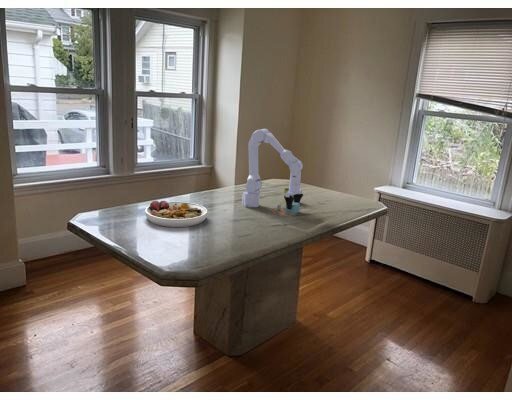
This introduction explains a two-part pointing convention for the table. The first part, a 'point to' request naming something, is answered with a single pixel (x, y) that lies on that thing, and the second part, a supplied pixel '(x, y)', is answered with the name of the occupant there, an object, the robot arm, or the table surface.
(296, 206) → the blue cube with slot
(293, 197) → the plant pot
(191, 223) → the bowl
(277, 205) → the key post
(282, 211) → the panel
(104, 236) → the table surface
